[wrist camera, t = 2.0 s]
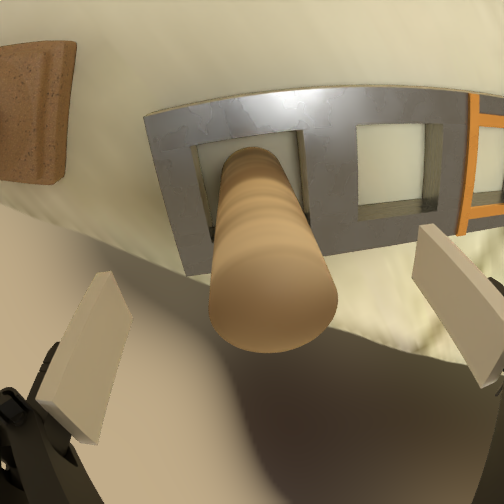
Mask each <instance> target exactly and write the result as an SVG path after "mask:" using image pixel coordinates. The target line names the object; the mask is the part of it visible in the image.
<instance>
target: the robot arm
mask: <svg viewBox="0 0 504 504" xmlns="http://www.w3.org/2000/svg"><path fill="white" fill-rule="evenodd" d="M412 279H413V281H414V282H415V284H416V285H417V286H418V288H419V289H420V291H421V292H422V294H423V295H424V297H425V298H426V299H427V301H428V302H429V304H430V305H431V307H432V308H433V310H434V311H435V313H436V314H437V316H438V317H439V319H440V321H441V322H442V324H443V325H444V327H445V328H446V330H447V332H448V333H449V335H450V336H451V338H452V340H453V341H454V343H455V344H456V346H457V348H458V349H459V351H460V353H461V354H462V356H463V358H464V360H465V361H466V363H467V365H468V366H469V368H470V370H471V372H472V373H473V375H474V377H475V379H476V381H477V382H478V384H479V386H480V387H481V388H483V387H485V386H487V385H490V384H492V383H494V382H496V381H497V379H498V377H499V376H500V374H501V373H502V371H503V372H504V286H503V285H502V284H501V283H500V282H498V281H496V280H495V279H493V278H492V277H489V278H487V277H486V276H485V275H484V274H483V273H482V272H481V271H480V270H479V268H478V267H477V266H476V265H475V264H474V263H473V262H472V261H471V260H470V259H469V258H468V257H467V256H466V255H465V254H464V253H463V252H462V251H461V250H460V249H459V248H458V247H457V246H456V245H455V244H454V243H453V242H452V241H451V240H450V239H449V238H448V237H447V236H446V235H445V234H444V233H443V232H442V231H441V230H440V229H439V228H438V227H437V226H436V225H435V224H433V223H432V224H426V225H419V230H418V238H417V246H416V253H415V260H414V266H413V272H412ZM132 321H133V317H132V315H131V313H130V311H129V309H128V307H127V305H126V302H125V300H124V298H123V296H122V294H121V292H120V289H119V287H118V285H117V283H116V280H115V278H114V276H113V273H112V271H107V272H100V273H96V275H95V277H94V279H93V281H92V282H91V284H90V286H89V288H88V289H87V291H86V293H85V295H84V297H83V299H82V300H81V302H80V304H79V306H78V308H77V310H76V312H75V314H74V315H73V317H72V319H71V322H70V323H69V325H68V327H67V329H66V331H65V333H64V336H63V337H62V339H61V342H56V343H55V344H54V345H53V346H52V348H51V349H50V350H49V351H48V353H47V355H46V357H45V359H44V361H43V364H42V365H41V368H40V370H39V371H40V372H39V373H38V374H37V376H36V379H35V381H34V383H33V386H32V388H31V390H30V393H29V395H28V397H27V400H25V399H24V398H23V397H22V396H21V395H20V394H19V393H18V391H17V390H16V389H14V388H12V387H6V388H4V389H2V390H0V504H104V502H103V501H102V499H101V497H100V496H99V494H98V492H97V490H96V489H95V487H94V485H93V483H92V481H91V480H90V478H89V476H88V474H87V473H86V470H85V468H84V466H83V464H82V462H81V460H80V459H79V456H78V455H77V453H76V450H75V448H74V447H73V445H72V444H71V443H70V439H71V435H72V436H73V437H74V438H75V439H76V440H78V441H79V442H80V443H85V444H92V445H98V442H99V437H100V433H101V429H102V425H103V421H104V417H105V413H106V409H107V405H108V401H109V398H110V394H111V390H112V386H113V383H114V379H115V376H116V373H117V369H118V366H119V363H120V359H121V356H122V353H123V349H124V346H125V343H126V340H127V337H128V334H129V331H130V327H131V324H132ZM501 390H502V394H501V400H500V406H499V411H498V416H497V421H496V425H495V430H494V434H493V438H492V442H491V446H490V449H489V453H488V457H487V460H486V463H485V467H484V470H483V473H482V476H481V479H480V482H479V485H478V488H477V490H476V493H475V496H474V499H473V502H472V504H504V381H503V383H502V384H501V386H500V387H499V388H498V390H497V392H496V394H495V396H498V395H499V393H500V392H501ZM1 461H3V462H4V463H5V464H6V470H4V469H3V468H2V467H1Z"/></svg>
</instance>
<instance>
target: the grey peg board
mask: <svg viewBox="0 0 504 504" xmlns="http://www.w3.org/2000/svg"><path fill="white" fill-rule="evenodd" d="M143 118H144V123H145V127H146V132H147V136H148V140H149V144H150V148H151V152H152V157H153V161H154V165H155V169H156V172H157V176H158V180H159V184H160V188H161V192H162V195H163V199H164V203H165V206H166V210H167V213H168V217H169V220H170V224H171V227H172V231H173V234H174V238H175V241H176V245H177V248H178V251H179V254H180V258H181V261H182V264H183V267H184V271H185V274H186V276H193V275H200V274H208V273H211V271H212V260H213V250H214V239H215V230H216V226H215V227H214V226H213V222H212V217H211V213H210V208H209V204H208V199H207V195H206V190H205V185H204V181H203V176H202V171H201V166H200V162H199V157H198V152H197V147H196V145H199V144H204V143H210V142H215V141H221V140H227V139H233V138H239V137H246V136H253V135H260V134H267V133H275V132H283V131H292V130H296V131H297V140H298V150H299V160H300V171H301V182H302V194H303V207H304V215H305V217H306V220H307V222H308V224H309V226H310V228H311V231H312V233H313V235H314V237H315V240H316V242H317V244H318V246H319V249H320V251H321V253H322V256H328V255H335V254H341V253H347V252H354V251H360V250H366V249H373V248H379V247H385V246H391V245H397V244H403V243H409V242H415V241H417V238H418V230H419V225H426V224H432V223H433V224H435V225H436V226H437V227H438V228H439V229H440V230H441V231H442V232H443V233H444V234H445V235H446V236H451V235H456V236H463V235H466V233H468V232H474V231H480V230H485V229H491V228H496V227H502V226H504V182H503V188H502V191H493V192H482V193H473V189H474V181H475V172H476V163H477V151H478V136H479V126H485V127H498V128H504V96H499V95H493V94H487V93H481V92H474V91H466V90H457V89H448V88H437V87H424V86H405V85H336V86H317V87H303V88H291V89H281V90H272V91H263V92H255V93H248V94H241V95H235V96H228V97H222V98H217V99H211V100H206V101H201V102H195V103H191V104H186V105H181V106H177V107H172V108H168V109H164V110H160V111H155V112H152V113H150V114H148V115H146V116H144V117H143ZM399 123H426V135H425V165H424V181H423V194H422V199H413V200H404V201H396V202H387V203H379V204H370V205H362V206H358V160H357V134H356V125H367V124H399Z"/></svg>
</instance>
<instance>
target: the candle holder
mask: <svg viewBox="0 0 504 504" xmlns="http://www.w3.org/2000/svg"><path fill="white" fill-rule="evenodd" d="M76 49H77V45H76V42H73V41H38V42H29V43H22V44H14V45H8V46H2V47H0V180H5V181H13V182H21V183H29V184H40V185H52V184H54V183H56V182H57V181H59V180H60V179H61V178H63V177H64V174H65V163H66V144H67V127H68V114H69V104H70V94H71V86H72V79H73V72H74V65H75V57H76Z"/></svg>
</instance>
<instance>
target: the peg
mask: <svg viewBox="0 0 504 504" xmlns="http://www.w3.org/2000/svg"><path fill="white" fill-rule="evenodd" d="M337 304H338V294H337V289H336V286H335V284H334V282H333V279H332V277H331V274H330V272H329V270H328V267H327V265H326V263H325V260H324V258H323V256H322V253H321V251H320V249H319V246H318V244H317V242H316V240H315V237H314V235H313V233H312V231H311V228H310V226H309V224H308V222H307V220H306V217H305V215H304V213H303V211H302V209H301V206H300V204H299V202H298V200H297V198H296V196H295V194H294V191H293V189H292V187H291V185H290V183H289V181H288V179H287V177H286V175H285V173H284V170H283V168H282V166H281V164H280V162H279V161H278V159H277V158H276V157H275V156H274V155H273V154H272V153H271V152H269V151H267V150H265V149H262V148H258V147H247V148H243V149H240V150H238V151H236V152H235V153H233V154H232V155H231V156H230V157H229V158H228V159H227V161H226V162H225V164H224V166H223V169H222V175H221V184H220V192H219V201H218V210H217V220H216V230H215V239H214V250H213V260H212V271H211V282H210V295H209V306H208V307H209V317H210V321H211V323H212V325H213V327H214V329H215V330H216V331H217V333H218V334H219V335H220V336H221V337H222V338H223V339H224V340H226V341H227V342H229V343H230V344H232V345H234V346H236V347H238V348H241V349H244V350H248V351H252V352H258V353H276V352H283V351H288V350H291V349H294V348H297V347H300V346H302V345H304V344H306V343H308V342H310V341H311V340H313V339H315V338H316V337H317V336H318V335H320V334H321V333H322V332H323V331H324V330H325V329H326V328H327V326H328V325H329V324H330V322H331V321H332V319H333V317H334V315H335V313H336V309H337Z"/></svg>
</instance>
